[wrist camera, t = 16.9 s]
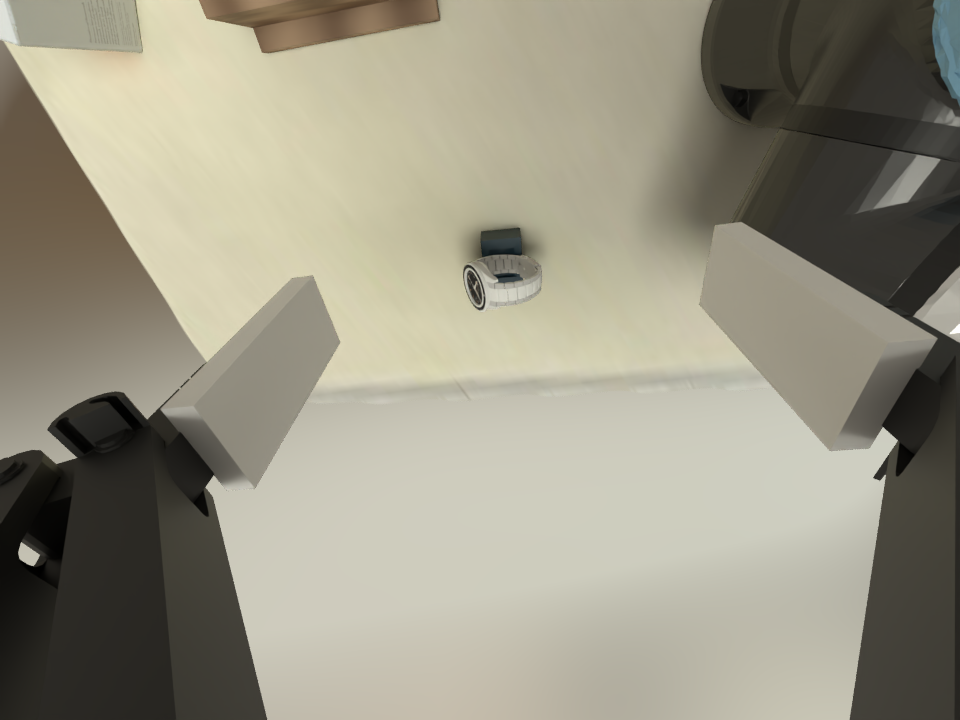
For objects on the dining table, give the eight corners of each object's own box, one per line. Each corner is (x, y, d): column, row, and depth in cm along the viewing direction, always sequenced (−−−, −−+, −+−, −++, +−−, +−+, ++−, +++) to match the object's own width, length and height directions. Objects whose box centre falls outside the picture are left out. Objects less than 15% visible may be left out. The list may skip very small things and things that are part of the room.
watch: (464, 233, 45) (456, 272, 36) (535, 226, 45) (545, 264, 36) (470, 278, 48) (464, 324, 40) (536, 273, 48) (545, 318, 39)
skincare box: (73, 30, 36) (-85, 13, 26) (59, -33, 33) (-122, -78, 24) (146, 55, 37) (19, 48, 27) (137, -4, 34) (-6, -36, 24)
